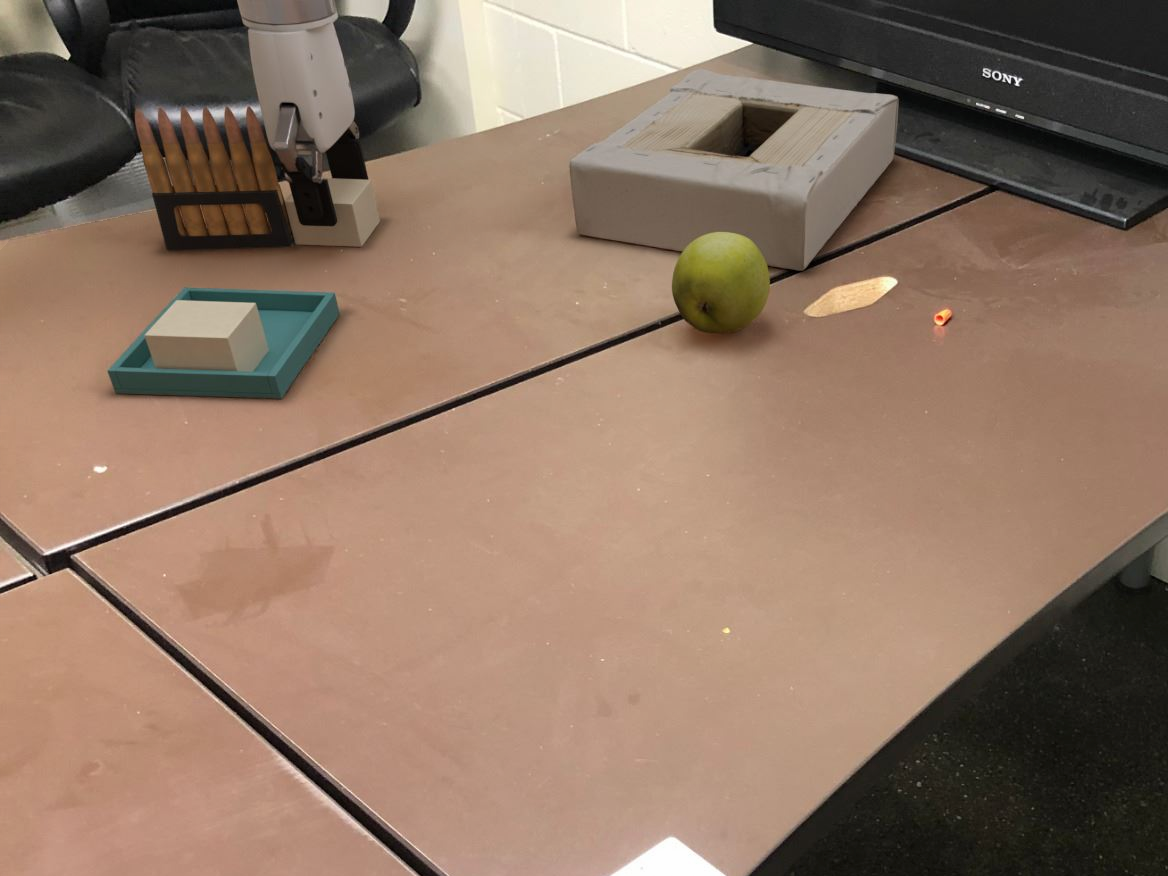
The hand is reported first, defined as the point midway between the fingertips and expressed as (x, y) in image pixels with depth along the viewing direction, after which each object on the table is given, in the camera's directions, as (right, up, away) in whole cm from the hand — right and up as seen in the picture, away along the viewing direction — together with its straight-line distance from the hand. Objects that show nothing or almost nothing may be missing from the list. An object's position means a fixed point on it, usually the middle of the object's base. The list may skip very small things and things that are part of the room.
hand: (335, 203), depth 122 cm
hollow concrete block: (+36, +5, +13) cm, 39 cm away
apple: (+37, -14, -10) cm, 41 cm away
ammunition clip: (-9, -4, -1) cm, 10 cm away
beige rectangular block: (0, -2, +2) cm, 3 cm away
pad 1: (-1, -20, -20) cm, 28 cm away
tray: (-1, -18, -17) cm, 24 cm away
